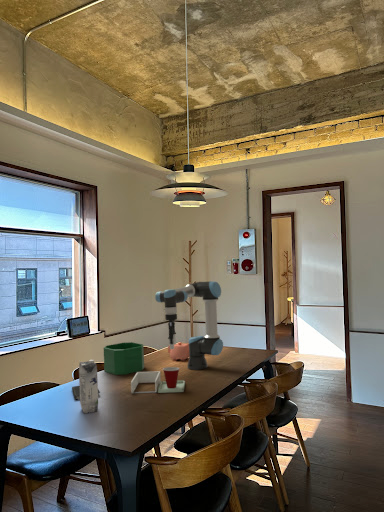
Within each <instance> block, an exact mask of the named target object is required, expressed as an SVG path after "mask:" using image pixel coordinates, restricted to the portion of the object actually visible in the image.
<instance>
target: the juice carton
mask: <svg viewBox="0 0 384 512" xmlns="http://www.w3.org/2000/svg"><path fill="white" fill-rule="evenodd" d="M78 365H79V366H78V375H79V376H78V377H79V378H78V380H79V381H78V382H79V383H78V386H80V399H79V403H80V407H81V410H82V413H83V414H89V413H93V412H94V413H95V412H97V411H98V410H99V409H98V408H99V393H98V389H99V386H98V385H99V384H98V383H99V381H98V380H99V379H98V367H97V363H96V362H95V359H89V360H88V361H82V362H79V363H78ZM88 412H89V413H88Z"/></svg>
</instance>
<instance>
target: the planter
mask: <svg viewBox="0 0 384 512" xmlns="http://www.w3.org/2000/svg"><path fill="white" fill-rule="evenodd" d="M144 368H145V353H144V344H142V343H137V342H132V341H131V342H130V341H128V342H125V341H124V342H119V343H118V342H117V343H114V344H108V345H105V346H104V347H103V369H104V372H106V373H108V374H110V375H114V376H116V375H117V376H119V375H122V376H123V375H129V374H133V373H137V372H142V371H143V370H144Z"/></svg>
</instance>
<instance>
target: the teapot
mask: <svg viewBox="0 0 384 512" xmlns="http://www.w3.org/2000/svg"><path fill="white" fill-rule="evenodd" d="M167 353H169V354H170V359H171V360H174V362H177V361H178V360H180V361H181V362H185V360H187V359H189V343H182V342H181V341H179V342H177V343H176V345H174V349H170V345H169V344H168V345H167Z"/></svg>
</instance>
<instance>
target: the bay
mask: <svg viewBox="0 0 384 512" xmlns="http://www.w3.org/2000/svg"><path fill="white" fill-rule="evenodd" d="M161 379H162V378H161V371H160V370H159V371H158V370H157V371H137V372H135V375H134V376H133V378H132V379H131V381H130V391H131V392H130V394H132V395H133V394H152V393H153V394H157V393H158V388H159V385H160V383H161ZM144 383H145V384H148V383H154V389H155V390H154V391H135V390H136V388H137V386H138V385H139V384H144Z"/></svg>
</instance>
